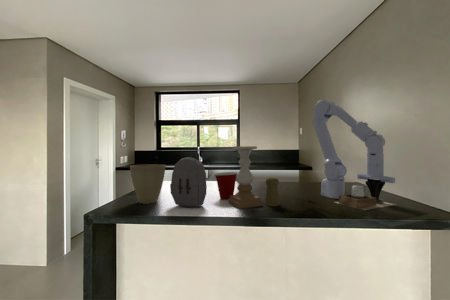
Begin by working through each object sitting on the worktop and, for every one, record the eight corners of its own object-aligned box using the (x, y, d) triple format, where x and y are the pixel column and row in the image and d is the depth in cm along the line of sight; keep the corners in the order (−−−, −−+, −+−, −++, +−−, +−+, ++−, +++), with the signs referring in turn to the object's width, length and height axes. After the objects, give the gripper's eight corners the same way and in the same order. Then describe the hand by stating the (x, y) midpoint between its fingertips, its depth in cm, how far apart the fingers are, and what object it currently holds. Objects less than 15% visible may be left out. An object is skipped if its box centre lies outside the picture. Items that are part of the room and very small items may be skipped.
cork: (279, 206, 104) (279, 178, 103) (264, 205, 105) (264, 178, 105) (279, 203, 110) (279, 176, 109) (265, 202, 111) (265, 176, 111)
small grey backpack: (209, 205, 106) (209, 156, 106) (201, 210, 98) (201, 157, 98) (176, 203, 111) (175, 156, 110) (166, 208, 103) (165, 157, 102)
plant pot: (153, 207, 104) (152, 167, 104) (122, 204, 109) (121, 166, 109) (172, 199, 118) (172, 164, 118) (144, 197, 123) (144, 163, 123)
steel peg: (348, 203, 102) (349, 185, 102) (357, 202, 104) (358, 185, 103) (357, 206, 98) (358, 187, 98) (366, 205, 99) (367, 187, 99)
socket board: (333, 205, 105) (333, 194, 105) (363, 200, 113) (363, 190, 113) (364, 213, 93) (364, 201, 92) (396, 207, 100) (396, 196, 100)
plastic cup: (223, 195, 127) (223, 170, 127) (242, 197, 121) (242, 171, 120) (209, 199, 118) (209, 172, 118) (229, 202, 112) (228, 174, 112)
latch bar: (360, 200, 108) (360, 197, 108) (365, 199, 110) (365, 196, 110) (381, 202, 100) (381, 200, 100) (386, 201, 101) (386, 199, 102)
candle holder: (239, 209, 100) (238, 146, 100) (227, 203, 110) (226, 146, 110) (263, 206, 105) (263, 146, 104) (250, 200, 115) (249, 146, 114)
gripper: (352, 164, 109) (352, 196, 109) (386, 166, 96) (386, 203, 96) (363, 163, 112) (364, 195, 112) (398, 165, 99) (398, 201, 99)
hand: (375, 198), depth 104 cm, fingers closed, pressing on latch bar
